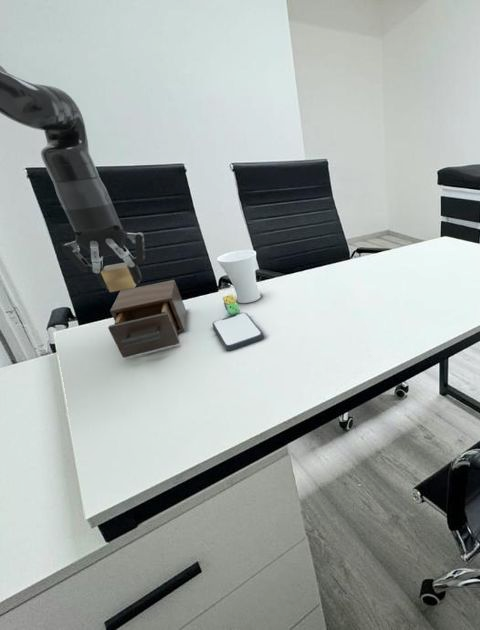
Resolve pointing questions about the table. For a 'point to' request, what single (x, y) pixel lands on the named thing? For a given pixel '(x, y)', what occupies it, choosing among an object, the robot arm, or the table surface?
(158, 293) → the cabinet
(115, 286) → the maple cube
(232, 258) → the cup
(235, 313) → the kitchen sponge
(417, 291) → the table surface
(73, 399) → the table surface
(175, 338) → the drawer
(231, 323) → the phone case
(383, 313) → the table surface
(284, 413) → the table surface
